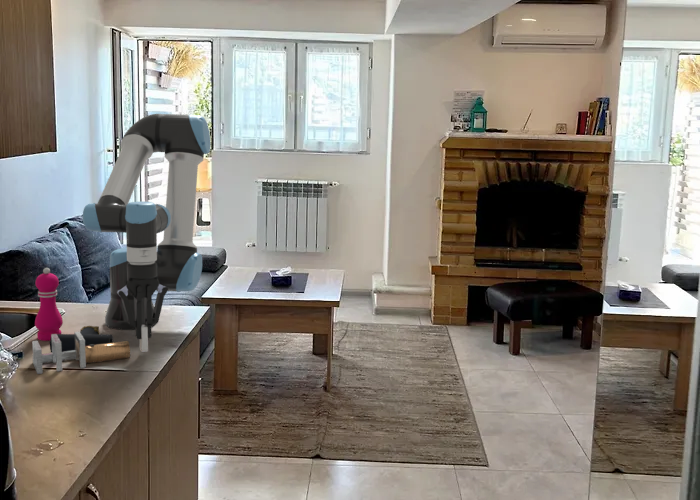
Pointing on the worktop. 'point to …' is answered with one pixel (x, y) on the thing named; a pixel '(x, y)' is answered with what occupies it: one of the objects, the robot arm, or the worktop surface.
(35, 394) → the worktop surface
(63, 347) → the pipe connector
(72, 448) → the worktop surface
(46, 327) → the pepper mill
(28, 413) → the worktop surface
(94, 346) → the tube
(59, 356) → the grey slatted rack
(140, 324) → the robot arm
